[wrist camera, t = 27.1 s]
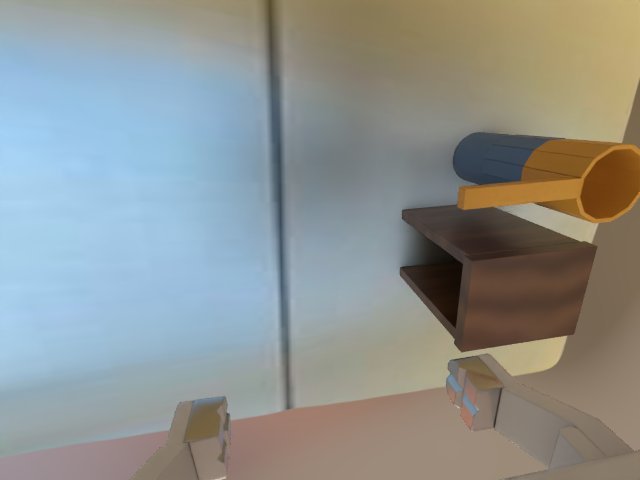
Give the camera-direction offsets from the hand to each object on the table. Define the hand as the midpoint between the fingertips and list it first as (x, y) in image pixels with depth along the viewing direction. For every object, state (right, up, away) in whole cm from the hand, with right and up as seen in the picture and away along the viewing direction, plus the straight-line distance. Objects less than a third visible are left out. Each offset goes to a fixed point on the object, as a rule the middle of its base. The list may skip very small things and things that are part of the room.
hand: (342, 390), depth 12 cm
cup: (+19, +12, +24) cm, 33 cm away
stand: (+18, +5, +41) cm, 45 cm away
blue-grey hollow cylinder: (+22, +18, +37) cm, 47 cm away
